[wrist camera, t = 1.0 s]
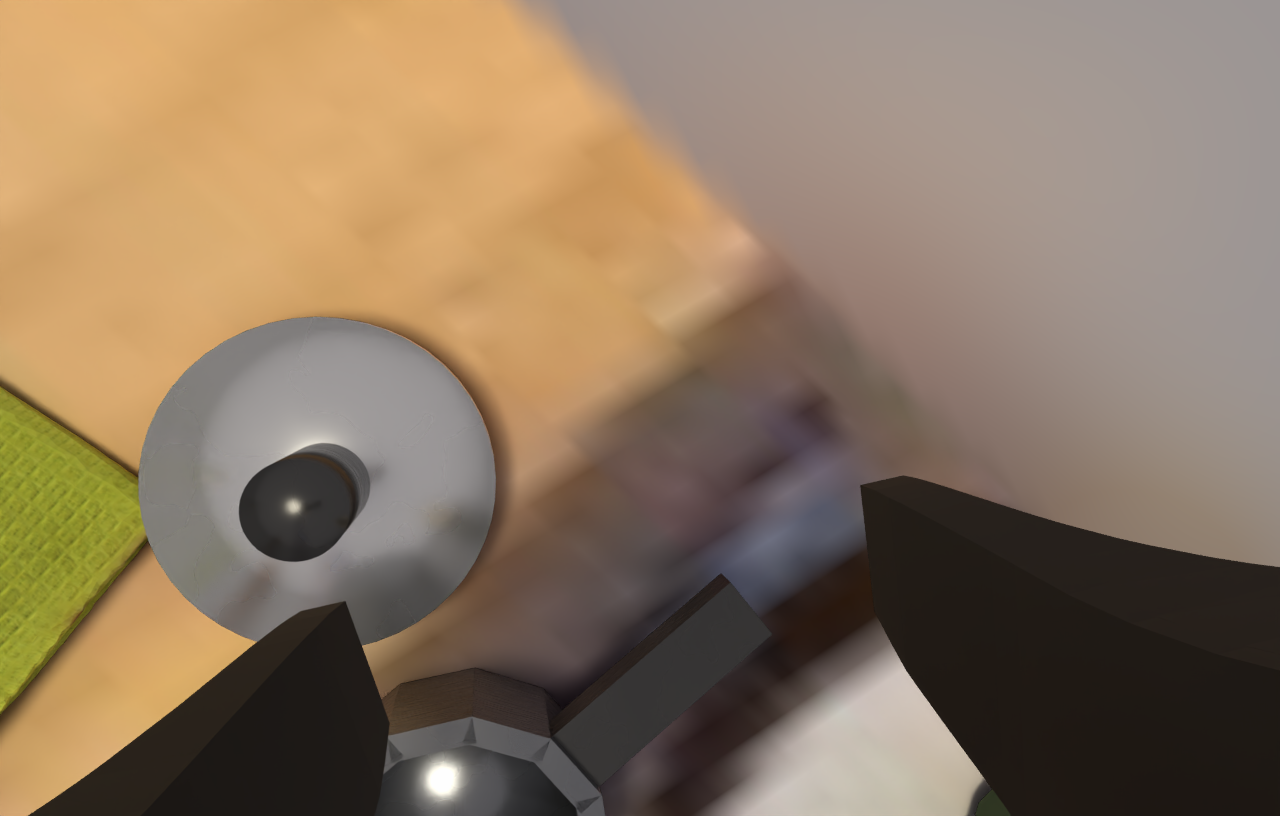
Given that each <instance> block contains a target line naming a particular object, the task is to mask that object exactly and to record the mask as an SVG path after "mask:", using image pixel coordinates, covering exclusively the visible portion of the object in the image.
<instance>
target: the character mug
mask: <svg viewBox="0 0 1280 816" xmlns="http://www.w3.org/2000/svg"><path fill="white" fill-rule="evenodd" d="M975 816H1011V815H1010V813H1009V812H1008V810H1007V809H1006V807H1005V806H1004V804H1003V803H1002V802H1001V800H1000V799H999V798H998V796H997V795H996V793H995V792H994V791H993V789H992V790H991V791H990V792H989V793H988V794H987V795H986V796H985V797H984V798H983V799H982V800H981V801H980V802H979V803H978V807H977V811H976V814H975Z"/></svg>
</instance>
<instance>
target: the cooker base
mask: <svg viewBox="0 0 1280 816" xmlns="http://www.w3.org/2000/svg"><path fill="white" fill-rule="evenodd" d="M771 635H772V633H771V632H770V631H769V630H768V628H767V627H766V626H765V625H764V623H763V622H762V621H761V620H760V618H759V617H758V616H757V615H756V613H755V612H754V611H753V610H752V608H751V607H750V606H749V605H748V603H747V602H746V601H745V600H744V599H743V597H742V596H741V595H740V594H739V592H738V591H737V590H736V589H735V587H734V586H733V585H732V584H731V582H730V581H729V580H727V579H726V578H725V577H724V576H723V575H722V574H720V575H718V576H717V577H716V578H715V579H714V580H713V581H711V582H710V583H709V584H708V585H707V586H706V587H705V588H703V589H702V590H701V591H700V592H699V593H698V594H696V595H695V596H694V597H693V598H692V599H691V600H689V601H688V602H687V603H686V604H685V605H684V606H683V607H681V608H680V609H679V610H678V611H677V612H676V613H674V614H673V615H672V616H671V617H670V618H669V619H667V620H666V621H665V622H664V623H663V624H662V625H660V626H659V627H658V628H657V629H656V630H655V631H654V632H652V633H651V634H650V635H649V636H648V637H647V638H645V639H644V640H643V641H642V642H641V643H640V644H638V645H637V646H636V647H635V648H634V649H633V650H632V651H630V652H629V653H628V654H627V655H626V656H625V657H623V658H622V659H621V660H620V661H619V662H618V663H616V664H615V665H614V666H613V667H612V668H611V669H609V670H608V671H607V672H606V673H605V674H604V675H603V676H601V677H600V678H599V679H598V680H597V681H596V682H594V683H593V684H592V685H591V686H590V687H589V688H587V689H586V690H585V691H584V692H583V693H582V694H581V695H579V696H578V697H577V698H576V699H575V700H574V701H572V702H571V703H570V704H569V705H568V706H567V707H565V708H564V709H563V710H562V709H561V708H560V707H559V706H558V705H557V703H556V702H555V701H554V700H553V699H552V698H551V697H550V696H549V695H548V693H547V692H546V691H545V690H544V689H543V688H540V687H537V686H533V685H530V684H527V683H523V682H520V681H517V680H513V679H510V678H507V677H503V676H500V675H496V674H493V673H490V672H486V671H483V670H480V669H476V668H472V669H468V670H463V671H459V672H454V673H449V674H445V675H440V676H436V677H431V678H426V679H422V680H417V681H413V682H408V683H404V684H400V685H398V686H397V687H396V688H395V689H394V690H393V691H391V692H390V693H389V694H388V695H387V696H385V697H384V698H383V699H382V703H383V706H384V708H385V711H386V714H387V717H388V720H389V722H390V726H389V734H388V743H387V751H386V759H385V766H384V773H383V779H382V786H381V792H380V797H379V800H378V804H377V808H376V812H375V816H605V811H604V805H603V799H602V794H601V790H600V785H602V784H603V783H604V782H605V781H606V780H607V779H608V778H610V777H611V776H612V775H613V774H614V773H615V772H616V771H617V770H619V769H620V768H621V767H622V766H623V765H624V764H625V763H627V762H628V761H629V760H630V759H631V758H632V757H633V756H635V755H636V754H637V753H638V752H639V751H640V750H641V749H642V748H644V747H645V746H646V745H647V744H648V743H649V742H650V741H652V740H653V739H654V738H655V737H656V736H657V735H658V734H659V733H661V732H662V731H663V730H664V729H665V728H666V727H667V726H669V725H670V724H671V723H672V722H673V721H674V720H675V719H677V718H678V717H679V716H680V715H681V714H682V713H683V712H684V711H686V710H687V709H688V708H689V707H690V706H691V705H692V704H694V703H695V702H696V701H697V700H698V699H699V698H700V697H701V696H703V695H704V694H705V693H706V692H707V691H708V690H709V689H711V688H712V687H713V686H714V685H715V684H716V683H717V682H719V681H720V680H721V679H722V678H723V677H724V676H725V675H726V674H728V673H729V672H730V671H731V670H732V669H733V668H734V667H736V666H737V665H738V664H739V663H740V662H741V661H742V660H743V659H745V658H746V657H747V656H748V655H749V654H750V653H751V652H753V651H754V650H755V649H756V648H757V647H758V646H759V645H761V644H762V643H763V642H764V641H765V640H766V639H767V638H768V637H770V636H771Z"/></svg>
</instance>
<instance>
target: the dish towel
mask: <svg viewBox="0 0 1280 816" xmlns="http://www.w3.org/2000/svg"><path fill="white" fill-rule="evenodd" d="M138 479H139V478H138V477H136V476H135V475H133V474H132V473H130V472H129V471H127V470H126V469H124V468H123V467H122V466H121V465H119V464H118V463H116V462H115V461H113V460H111V459H110V458H108V457H107V456H106V455H104V454H103V453H102V452H100V451H99V450H97V449H96V448H94V447H93V446H91V445H90V444H88V443H87V442H85V441H84V440H82V439H81V438H79V437H78V436H77V435H75V434H73V433H72V432H70V431H69V430H67V429H65V428H64V427H62V426H61V425H59V424H58V423H56V422H54V421H53V420H51V419H50V418H48V417H47V416H45V415H44V414H42V413H41V412H39V411H38V410H36V409H34V408H33V407H31V406H30V405H28V404H27V403H25V402H24V401H22V400H20V399H19V398H17V397H16V396H14V395H12V394H11V393H9V392H8V391H6V390H5V389H4V388H2V387H1V386H0V715H1V713H2V712H3V711H4V710H5V709H6V708H7V707H8V706H9V705H10V704H11V703H12V702H13V701H14V700H15V699H16V698H17V697H18V696H19V695H20V694H21V693H22V692H23V691H24V689H25V688H26V687H27V686H28V684H29V683H30V682H31V681H32V680H33V679H34V678H35V677H36V676H37V674H38V673H39V672H40V670H41V669H42V668H43V667H44V666H45V665H46V663H47V662H48V661H49V659H50V658H51V657H52V656H53V655H54V654H55V652H56V651H57V650H58V649H59V647H60V646H61V645H62V644H63V643H64V642H65V641H66V640H67V638H68V637H69V635H70V634H71V633H72V632H73V630H74V629H75V628H76V627H77V626H78V624H79V623H80V622H81V621H82V619H83V618H84V617H85V616H86V615H87V614H88V613H89V612H90V611H91V609H92V608H93V605H94V603H95V602H96V601H97V600H98V599H99V598H100V597H101V596H102V595H103V594H104V593H105V592H106V590H107V589H108V587H109V586H110V585H111V584H112V583H113V581H114V580H115V579H116V578H117V577H118V575H119V574H120V573H121V572H122V571H123V570H124V569H125V567H126V566H127V565H128V564H129V563H130V562H131V561H132V559H133V558H134V557H135V556H136V555H137V553H138V552H139V551H140V550H141V548H142V547H143V546H144V545H145V544H146V542H147V541H148V538H147V535H146V531H145V528H144V524H143V521H142V517H141V510H140V503H139V496H138Z"/></svg>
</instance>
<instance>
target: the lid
mask: <svg viewBox="0 0 1280 816" xmlns="http://www.w3.org/2000/svg"><path fill="white" fill-rule="evenodd" d="M495 489H496V473H495V462H494V453H493V449H492V445H491V441H490V437H489V433H488V430H487V428H486V425H485V423H484V420H483V417H482V415H481V413H480V411H479V409H478V408H477V406H476V404H475V402H474V400H473V398H472V397H471V395H470V394H469V392H468V391H467V390H466V388H465V387H464V386H463V384H462V383H461V382H460V380H459V379H458V378H457V377H456V376H455V375H454V374H453V373H452V372H451V371H450V370H449V369H448V367H447V366H446V365H445V364H443V363H442V362H441V361H440V360H439V359H437V358H436V357H435V356H434V355H432V354H431V353H430V352H429V351H427V350H426V349H424V348H423V347H421V346H419V345H418V344H416V343H414V342H413V341H411V340H410V339H408V338H405V337H403V336H401V335H399V334H397V333H394V332H392V331H390V330H387V329H384V328H381V327H378V326H375V325H371V324H368V323H364V322H359V321H353V320H348V319H342V318H329V317H307V318H293V319H287V320H282V321H277V322H272V323H268V324H265V325H262V326H259V327H256V328H253V329H250V330H247V331H245V332H243V333H241V334H239V335H236V336H234V337H232V338H230V339H228V340H226V341H224V342H223V343H221V344H220V345H218V346H217V347H215V348H214V349H212V350H211V351H209V352H207V353H206V354H205V355H203V356H202V357H201V358H200V359H199V360H198V361H196V362H195V363H194V364H193V365H192V366H191V367H190V368H188V369H187V370H186V371H185V373H184V374H183V375H182V376H181V377H180V378H179V379H178V381H177V382H176V383H175V384H174V385H173V386H172V387H171V389H170V390H169V392H168V393H167V395H166V396H165V398H164V399H163V401H162V403H161V404H160V406H159V407H158V409H157V411H156V414H155V416H154V418H153V420H152V422H151V424H150V426H149V429H148V432H147V435H146V438H145V442H144V445H143V448H142V453H141V460H140V466H139V479H138V496H139V503H140V510H141V517H142V521H143V524H144V528H145V531H146V535H147V538H148V541H149V543H150V545H151V547H152V550H153V552H154V554H155V556H156V558H157V561H158V562H159V564H160V565H161V567H162V568H163V570H164V572H165V573H166V575H167V576H168V578H169V579H170V581H171V582H172V583H173V584H174V585H175V587H176V588H177V589H178V590H179V591H180V592H181V594H182V595H183V596H184V597H185V598H186V599H187V600H188V601H189V602H191V603H192V604H193V605H194V606H195V607H196V608H197V609H198V610H199V611H201V612H202V613H203V614H205V615H206V616H208V617H209V618H210V619H212V620H213V621H215V622H216V623H218V624H219V625H221V626H223V627H225V628H227V629H229V630H231V631H233V632H234V633H236V634H238V635H240V636H243V637H245V638H248V639H251V640H254V641H257V642H258V641H259V640H260V639H262V638H263V637H264V636H266V635H267V634H268V633H269V632H271V631H272V630H273V629H275V628H276V627H277V626H279V625H280V624H281V623H283V622H284V621H286V620H287V619H289V618H290V617H292V616H293V615H295V614H297V613H298V612H300V611H303V610H307V609H312V608H316V607H320V606H325V605H329V604H334V603H338V602H343V601H346V604H347V607H348V609H349V612H350V615H351V618H352V620H353V623H354V626H355V629H356V631H357V634H358V637H359V640H360V642H361V645H366V644H369V643H373V642H377V641H379V640H382V639H384V638H387V637H389V636H392V635H394V634H397V633H399V632H401V631H402V630H404V629H406V628H408V627H410V626H411V625H413V624H415V623H417V622H418V621H420V620H421V619H422V618H424V617H425V616H427V615H428V614H429V613H431V612H432V611H433V610H435V609H436V608H437V607H438V606H439V605H440V604H441V603H442V602H443V601H444V600H446V599H447V598H448V597H449V596H450V595H451V594H452V593H453V591H454V590H455V589H456V588H457V587H458V585H459V584H460V583H461V582H462V581H463V579H464V578H465V577H466V575H467V574H468V572H469V570H470V569H471V567H472V566H473V564H474V562H475V561H476V559H477V557H478V555H479V553H480V551H481V548H482V546H483V544H484V542H485V540H486V536H487V533H488V530H489V527H490V524H491V520H492V515H493V509H494V503H495Z"/></svg>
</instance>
